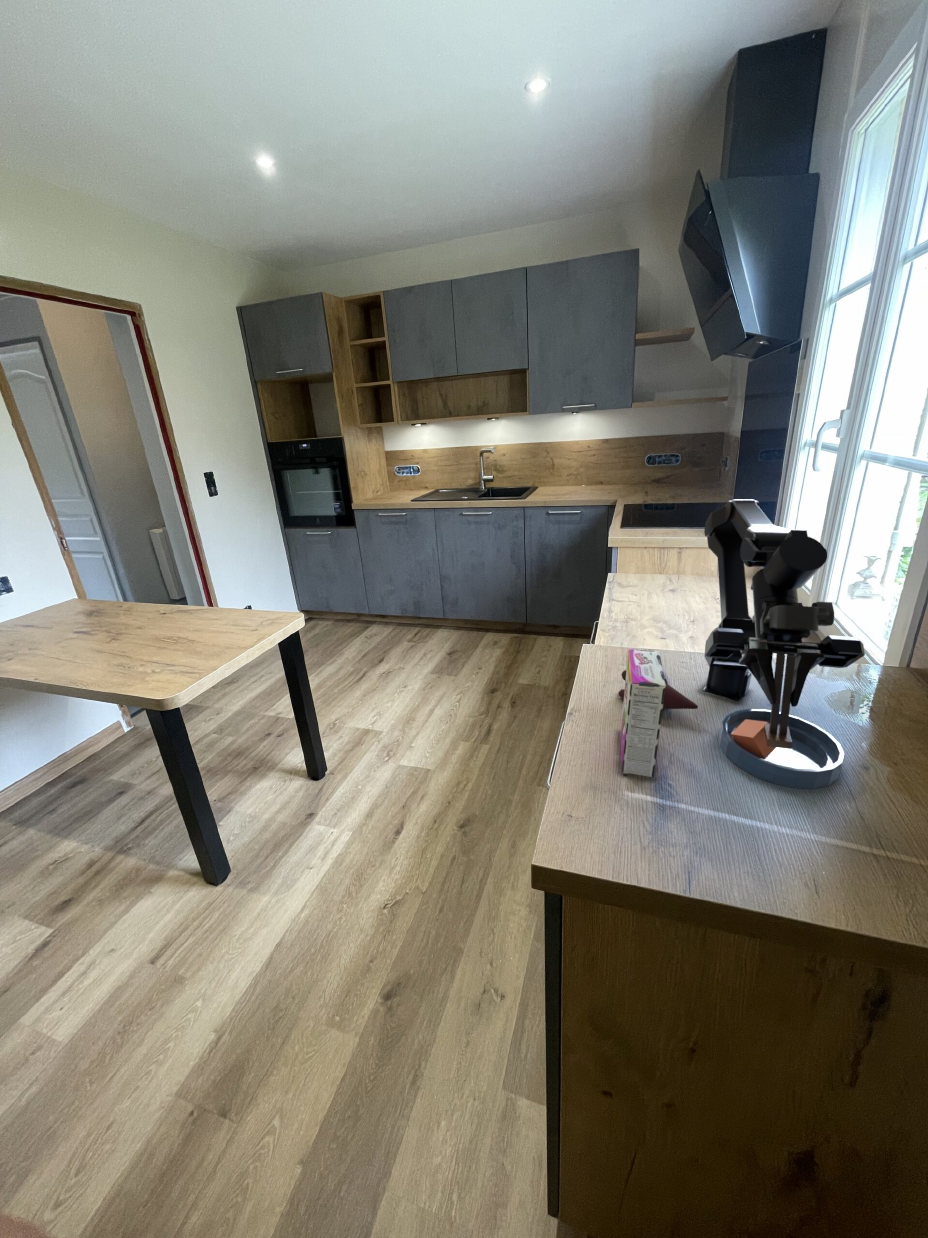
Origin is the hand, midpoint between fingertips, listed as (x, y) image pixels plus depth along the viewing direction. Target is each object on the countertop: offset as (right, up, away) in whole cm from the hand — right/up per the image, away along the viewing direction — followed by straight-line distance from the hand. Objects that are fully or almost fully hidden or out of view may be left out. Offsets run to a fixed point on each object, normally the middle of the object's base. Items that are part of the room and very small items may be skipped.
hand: (783, 704), depth 67 cm
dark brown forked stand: (+2, -6, +4) cm, 7 cm away
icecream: (-9, -5, +23) cm, 26 cm away
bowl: (+5, -10, +10) cm, 15 cm away
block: (+2, -8, +8) cm, 12 cm away
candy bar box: (-17, -10, +11) cm, 23 cm away
